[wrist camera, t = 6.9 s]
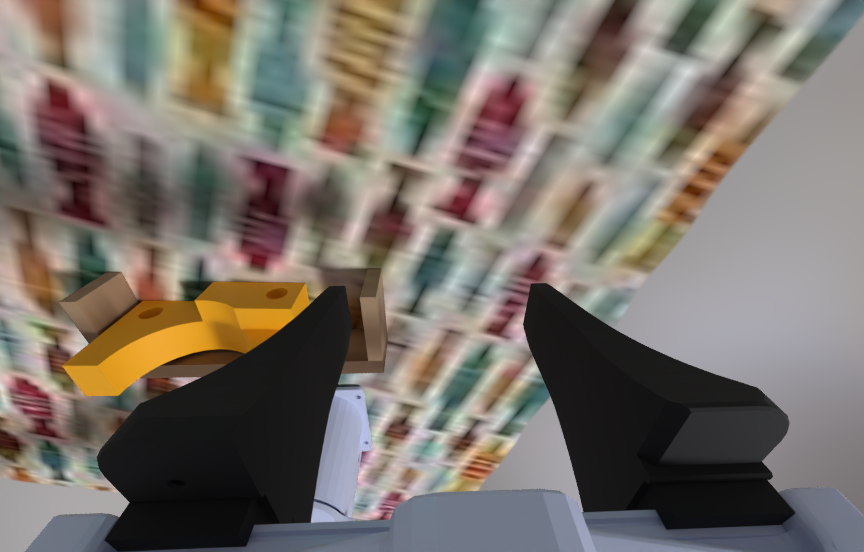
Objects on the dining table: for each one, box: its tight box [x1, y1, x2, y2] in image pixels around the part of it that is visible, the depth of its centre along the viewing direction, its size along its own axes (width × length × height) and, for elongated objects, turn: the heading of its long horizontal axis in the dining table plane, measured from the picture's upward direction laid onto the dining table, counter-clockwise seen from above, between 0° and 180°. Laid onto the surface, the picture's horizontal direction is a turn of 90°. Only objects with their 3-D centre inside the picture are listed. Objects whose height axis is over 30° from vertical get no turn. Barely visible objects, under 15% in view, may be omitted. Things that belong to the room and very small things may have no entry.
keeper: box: [59, 269, 388, 378], centre depth 23 cm, size 7×19×4 cm, turn 90°
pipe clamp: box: [62, 282, 310, 396], centre depth 22 cm, size 12×4×6 cm, turn 88°
